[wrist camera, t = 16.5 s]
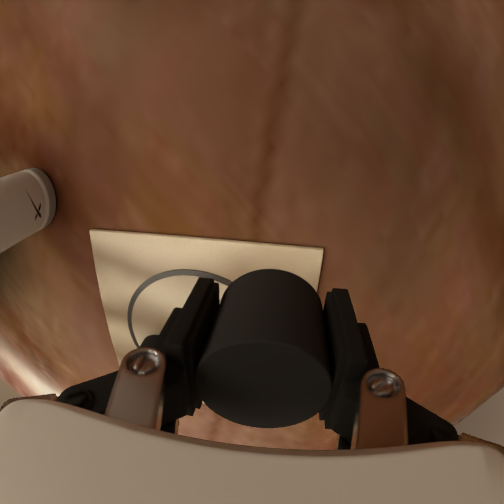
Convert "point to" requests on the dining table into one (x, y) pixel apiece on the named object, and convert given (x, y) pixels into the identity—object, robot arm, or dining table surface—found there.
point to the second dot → (266, 352)
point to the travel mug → (24, 205)
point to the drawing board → (177, 275)
